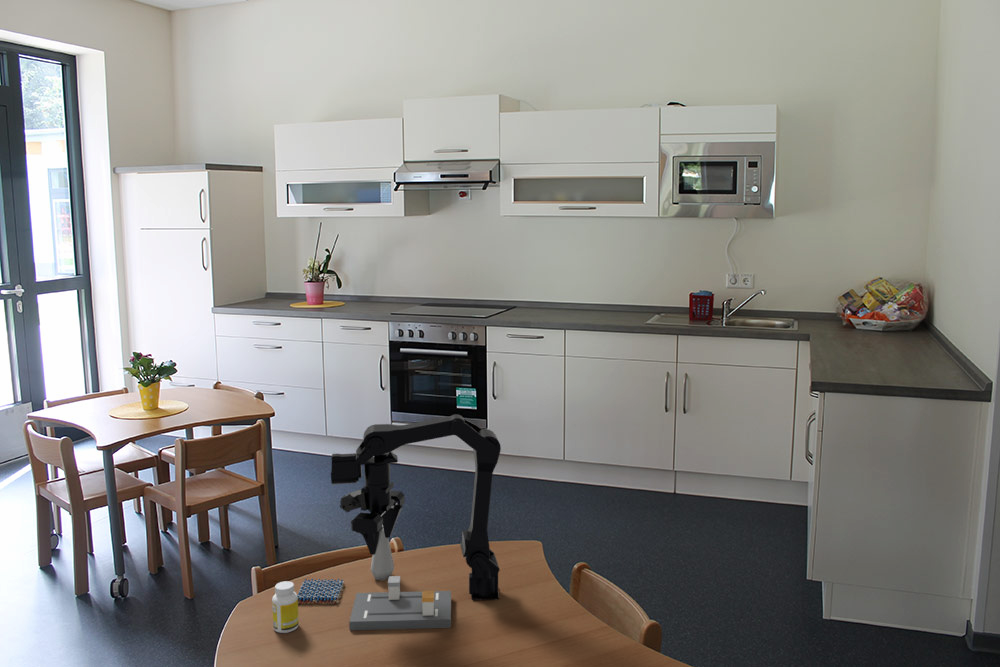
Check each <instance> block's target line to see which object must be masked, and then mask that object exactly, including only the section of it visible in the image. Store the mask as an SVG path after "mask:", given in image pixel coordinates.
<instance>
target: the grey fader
mask: <svg viewBox="0 0 1000 667" xmlns="http://www.w3.org/2000/svg"><path fill="white" fill-rule="evenodd" d="M387 587H388V592H389V600H399V598H400V592H401V575H391V576H389V579H387Z"/></svg>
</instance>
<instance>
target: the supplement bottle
mask: <svg viewBox="0 0 1000 667" xmlns="http://www.w3.org/2000/svg"><path fill="white" fill-rule="evenodd" d="M274 593H275V594H274V595H273V596H272V598H271V599H272V600H271V604H272V608H271V609H272V625H273V630H274V631H275V632H277V633H279V634H280V633H282V634H283V633H284V634H287V633H291V632H293V631H295V630H296V629H298V628H299V625H300V624H299V621H300V620H299V604H298V602H299V601H298V596H297V595H298V593H297V592H296V591H295V584H294V582H292V581H288V580H285V581H279V582H277V583H276V584H275V586H274Z"/></svg>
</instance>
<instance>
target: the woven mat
mask: <svg viewBox="0 0 1000 667" xmlns="http://www.w3.org/2000/svg"><path fill="white" fill-rule="evenodd" d="M344 583H345V581H344V579H340V578H337V579H334V578H331V579H326V578H325V579H320V578H318V579H313V578H311V580H310V579H308V580H307V578H304V580H303V581H301V585H300V587H299V589H298V593H297V596H298V605H304V604H305V603H313V604H315V605H316V604H317V603H322V604H323V605H324V604H325V603H326V605H327V603H328V604H329V603H331V604H332V603H333V604H334V605H336V604H339V602H340V600H339V599H340V598H342V597H341V595H343V591H344V589H343V588H344V587H346V586H345V584H344ZM313 598H314V599H313ZM299 603H300V604H299ZM301 603H302V604H301ZM303 603H304V604H303Z"/></svg>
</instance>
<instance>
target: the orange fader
mask: <svg viewBox="0 0 1000 667" xmlns="http://www.w3.org/2000/svg"><path fill="white" fill-rule="evenodd" d="M434 591H435V590H422V591H421V592H422V603H423V616H427V615H434Z"/></svg>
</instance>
